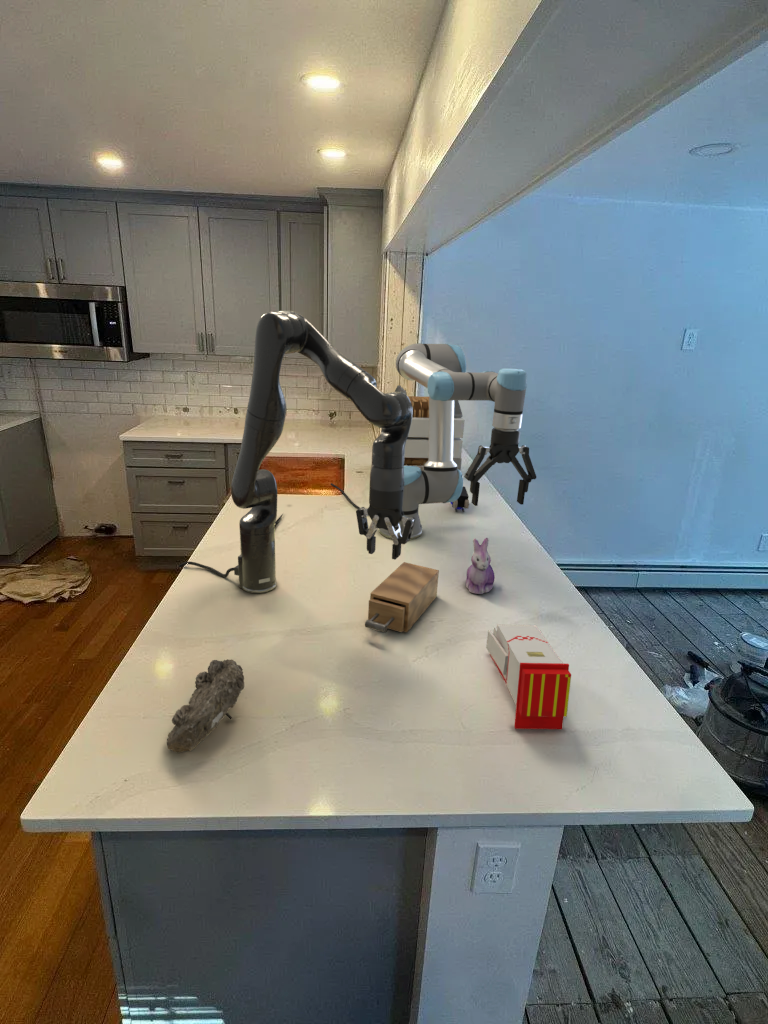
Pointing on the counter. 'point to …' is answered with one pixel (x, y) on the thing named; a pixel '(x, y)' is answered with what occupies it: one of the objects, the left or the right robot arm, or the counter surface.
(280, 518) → the feather
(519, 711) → the toy
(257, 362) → the left robot arm
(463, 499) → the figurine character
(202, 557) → the counter surface
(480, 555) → the figurine
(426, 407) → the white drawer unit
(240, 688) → the fossil
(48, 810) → the counter surface
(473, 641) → the counter surface
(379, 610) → the drawer
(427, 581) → the cabinet
